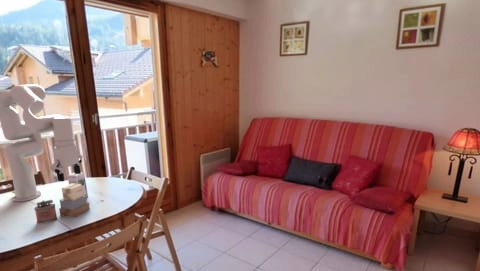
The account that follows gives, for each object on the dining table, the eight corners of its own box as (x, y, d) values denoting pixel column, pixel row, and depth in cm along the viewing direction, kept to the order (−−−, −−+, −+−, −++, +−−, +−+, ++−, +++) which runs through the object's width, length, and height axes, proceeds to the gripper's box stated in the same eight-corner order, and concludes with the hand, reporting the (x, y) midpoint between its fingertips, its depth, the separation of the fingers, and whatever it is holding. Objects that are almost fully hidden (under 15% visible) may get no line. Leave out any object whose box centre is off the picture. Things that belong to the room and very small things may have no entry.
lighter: (36, 224, 129) (32, 204, 126) (38, 221, 132) (34, 201, 130) (56, 220, 132) (53, 200, 130) (58, 217, 135) (54, 197, 133)
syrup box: (80, 200, 152) (76, 175, 149) (71, 200, 153) (67, 175, 150) (88, 196, 158) (84, 171, 154) (79, 195, 159) (75, 171, 156)
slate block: (60, 207, 136) (59, 200, 136) (75, 200, 144) (74, 193, 143) (72, 210, 133) (70, 202, 133) (86, 203, 141) (85, 195, 140)
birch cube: (63, 199, 136) (61, 187, 135) (73, 194, 142) (72, 183, 140) (73, 200, 134) (71, 189, 133) (83, 195, 140) (81, 184, 139)
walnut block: (60, 216, 136) (59, 208, 135) (75, 207, 145) (74, 200, 144) (75, 218, 134) (74, 210, 133) (89, 209, 142) (88, 202, 142)
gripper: (73, 138, 141) (77, 170, 145) (41, 147, 125) (47, 183, 128) (85, 139, 139) (89, 171, 143) (55, 148, 123) (60, 184, 127)
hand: (69, 177), depth 136 cm, fingers open, 9 cm apart
